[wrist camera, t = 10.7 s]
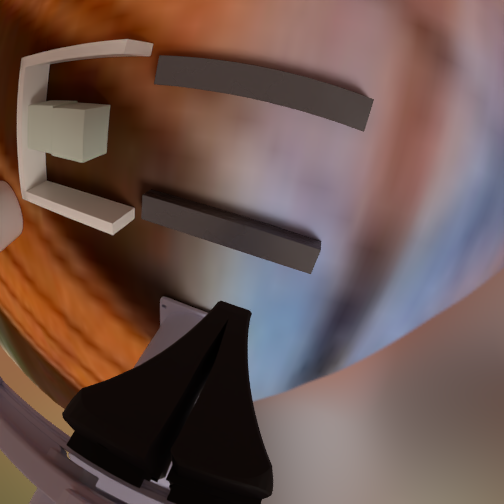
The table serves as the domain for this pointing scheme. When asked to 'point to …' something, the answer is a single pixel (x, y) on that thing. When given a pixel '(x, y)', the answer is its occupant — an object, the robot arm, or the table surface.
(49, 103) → the chip
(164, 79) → the channel
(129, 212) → the white u-shaped bracket
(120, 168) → the table surface
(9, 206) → the candle holder
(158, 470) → the robot arm
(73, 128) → the white small block
